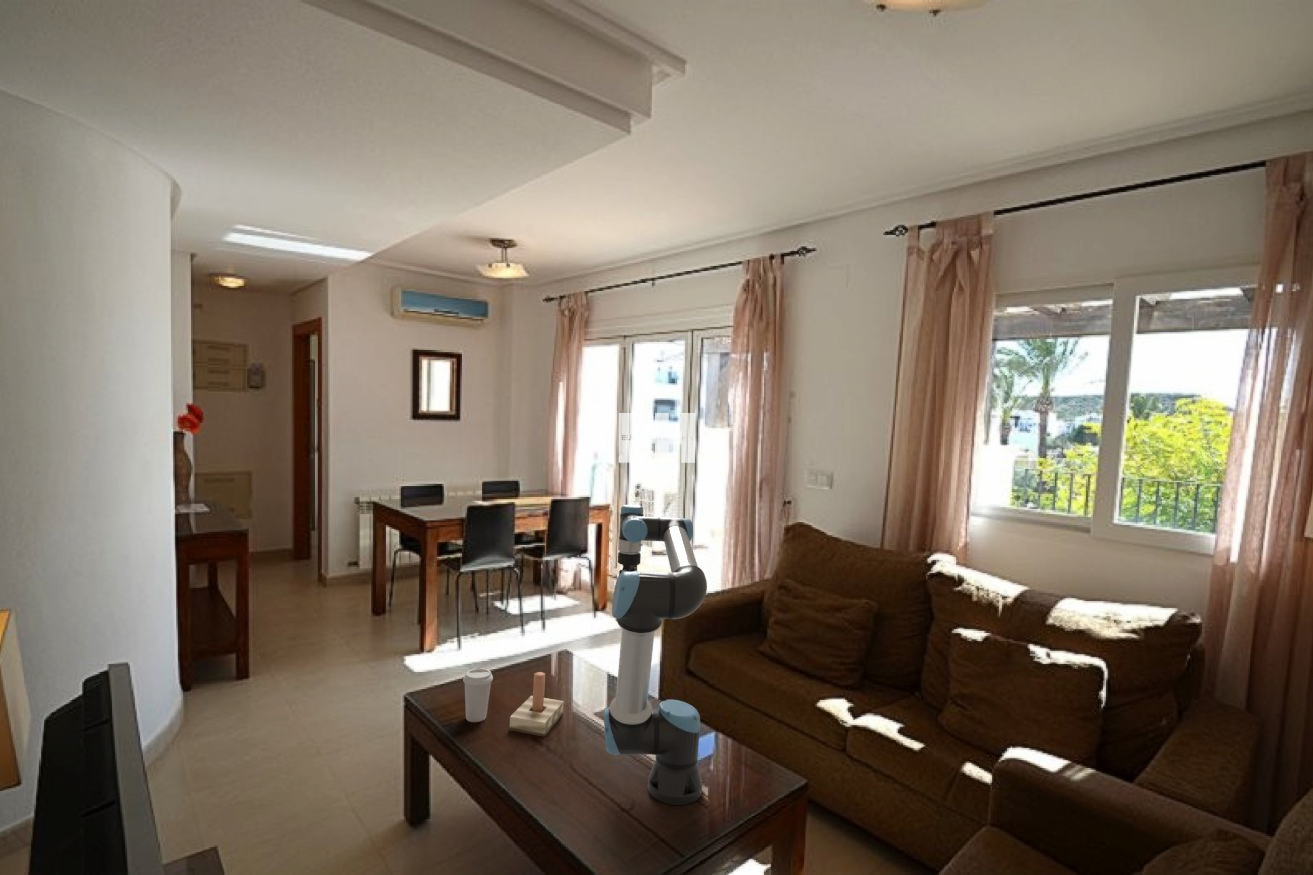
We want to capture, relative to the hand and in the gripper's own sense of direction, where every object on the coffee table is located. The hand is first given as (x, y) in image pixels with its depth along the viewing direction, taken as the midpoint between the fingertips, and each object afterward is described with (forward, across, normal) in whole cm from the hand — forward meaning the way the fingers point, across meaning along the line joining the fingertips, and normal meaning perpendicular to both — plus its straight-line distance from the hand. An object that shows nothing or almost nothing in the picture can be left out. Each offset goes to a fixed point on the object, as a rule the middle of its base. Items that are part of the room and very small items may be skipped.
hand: (625, 615), depth 208 cm
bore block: (+37, -8, +26) cm, 46 cm away
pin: (+36, -8, +26) cm, 45 cm away
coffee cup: (+37, -12, +46) cm, 60 cm away
